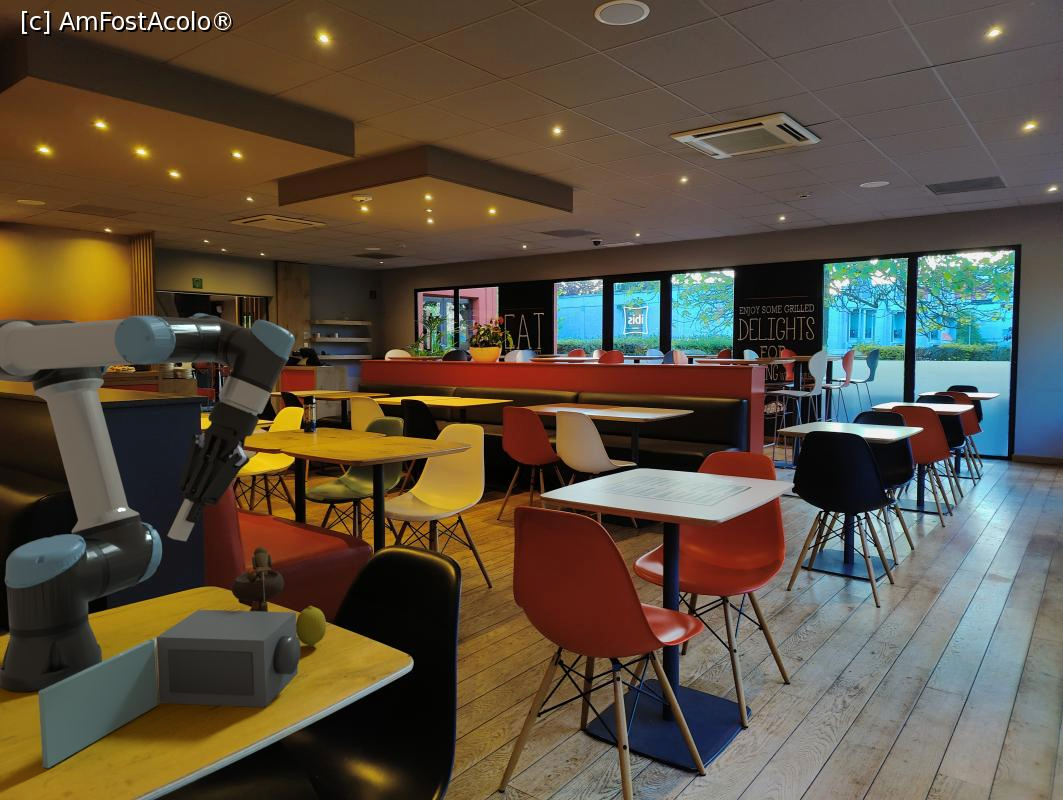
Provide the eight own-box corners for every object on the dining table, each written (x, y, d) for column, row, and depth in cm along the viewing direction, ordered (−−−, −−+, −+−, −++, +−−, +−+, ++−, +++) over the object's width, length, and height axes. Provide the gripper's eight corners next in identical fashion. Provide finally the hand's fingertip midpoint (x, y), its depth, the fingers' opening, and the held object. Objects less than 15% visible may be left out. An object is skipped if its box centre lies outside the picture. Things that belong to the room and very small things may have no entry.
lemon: (318, 638, 140) (316, 598, 140) (331, 646, 136) (330, 606, 136) (291, 646, 136) (290, 606, 136) (305, 655, 132) (303, 613, 132)
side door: (150, 701, 115) (147, 637, 114) (160, 703, 114) (157, 638, 113) (36, 765, 97) (32, 690, 97) (48, 768, 97) (43, 692, 96)
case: (158, 703, 115) (155, 637, 114) (200, 669, 127) (198, 609, 126) (277, 708, 113) (274, 641, 112) (308, 673, 125) (306, 612, 124)
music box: (306, 649, 135) (294, 549, 132) (249, 673, 127) (235, 566, 125) (271, 627, 146) (260, 533, 143) (217, 647, 138) (204, 549, 136)
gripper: (280, 424, 121) (219, 555, 117) (231, 405, 128) (172, 529, 123) (247, 410, 115) (182, 549, 111) (198, 391, 121) (134, 521, 117)
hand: (176, 538), depth 117 cm, fingers closed
